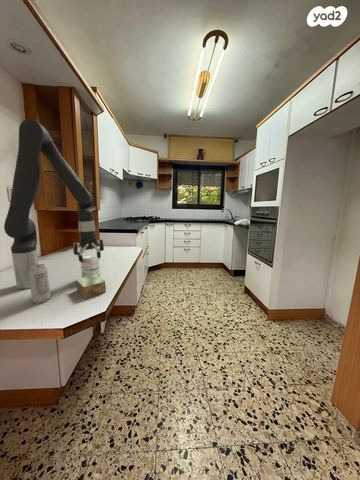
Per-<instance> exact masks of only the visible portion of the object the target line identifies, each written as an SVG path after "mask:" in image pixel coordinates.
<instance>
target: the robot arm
mask: <svg viewBox="0 0 360 480" xmlns="http://www.w3.org/2000/svg"><path fill="white" fill-rule="evenodd" d="M41 153H42V155H43V156H44V157H45V158H46V160H47V161H48V162H49V164H50V165H51V167H52V169H53V170H54V173H55V174H56V175H57V177H58V178H59V179H60V181H61V182H62V183H63V184H64V186H66V188H67V189H68V191H69V193H70V194H71V196H72V197H73V198H74V199H75V202H77V204H78V205H77V206H78V210H77V218H78V231H79V232H78V234H79V242H73V244H72V246H73V255H74V256H77V257H78V261H79V262H80V264H81V263H82V262H83V258H82V257H83V253H84V252H85V251H89V250H93V249H94V250H95V251H96V258H99V260H100V259H101V257H102V255H101V252H103V251H104V250H105V248H104V247H105V246H104V241H103V239H101V238H100V239H97V235H96V224H95V218H94V217H95V216H94V210H93V207H94V206H93V205H94V203H93V201H94V199H93V195H92V193H91V192H90V191H88V190H87V188H86V187H85V186H84V185H83V183H82V182H81V180H80V177H79V176H78V175H77V174H76V172H75V171H74V170H73V168H72V167H71V166H70V164H69V163H68V162H67V161H66V160H65V158H64V157H63V156H62V154H61V152H60V151H59V149H58V148H57V146H56V145H55V143H54V141H53V139H52V137H51V136H50V134H49V132H48V130H47V129H46V128H45V127H44V126H43V125H42V124H41V123H40V122H38V121H37V120H35V119H33V118H26V119H24V120H23V121H21V122H20V124H19V128H18V151H17V157H16V163H15V169H14V172H13V173H14V174H13V180H12V187H11V194H10V201H9V208H8V211H7V215H6V217H5V221H4V224H3V225H4V226H3V230H4V233H5V234H6V235H7V236H8V237H9V238H11V239H13V243H12V245H11V246H10V251H11V257H12V264H13V270H14V272H13V273H14V277H15V283H16V284H15V285H16V288H17V290H26V289H31V287H30V280H29V273H28V271H29V269H30V266H32V265H36V264H39V257H38V250H37V245H38V235H37V234H38V233H37V228H36V227H37V226H36V224H35V222H34V221H33V220H32V219H31V218H30V213H31V208H32V207H33V204H34V202H35V201H36V199H37V196H38V194H39V191H40V188H41V180H42V175H41V166H40V165H41V164H40V154H41ZM97 244H98V245H99V247H98V246H97ZM79 246H80V249H79V250H78V248H79Z"/></svg>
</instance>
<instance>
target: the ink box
mask: <svg viewBox="0 0 360 480" xmlns="http://www.w3.org/2000/svg"><path fill="white" fill-rule="evenodd" d="M82 258H83V262H82V263H81V262H80V266H81V267H80V268H81V278H83V277H88V276H92V275H98V276H99V277H100V278H101V276H100V275H101V273H100V259H99V258H97V257H94V256H89V255H87V256H82Z"/></svg>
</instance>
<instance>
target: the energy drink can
mask: <svg viewBox="0 0 360 480" xmlns="http://www.w3.org/2000/svg"><path fill="white" fill-rule="evenodd" d="M45 265H46V264H44V263H38V264H36V265H32V266H30V269H29V271H28V273H29V280H30V287H31V288H30V292H31V293H30V294H31V301H32V302H33V303H34V304H43V303H45V301H46V302H48V301H49V300H50V297H51V290H50V282H49V281H50V280H49V276H48V275H49V274H48V268H47V267H46V266H45ZM47 300H48V301H47Z"/></svg>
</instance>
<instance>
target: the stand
mask: <svg viewBox="0 0 360 480" xmlns="http://www.w3.org/2000/svg"><path fill="white" fill-rule="evenodd" d="M75 283H76V290H77V292H78V293H79V294H80V295H81V296H82V297H83V299H88V298H92V297H95V296H97V295H98V296H99V295H102V294H105V293H107V288H106V280H105V279H103V278H102V277H101V276H100V277H99V276H98V275H92V276H88V277H83V278H82V277H80V278H76V279H75Z"/></svg>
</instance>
